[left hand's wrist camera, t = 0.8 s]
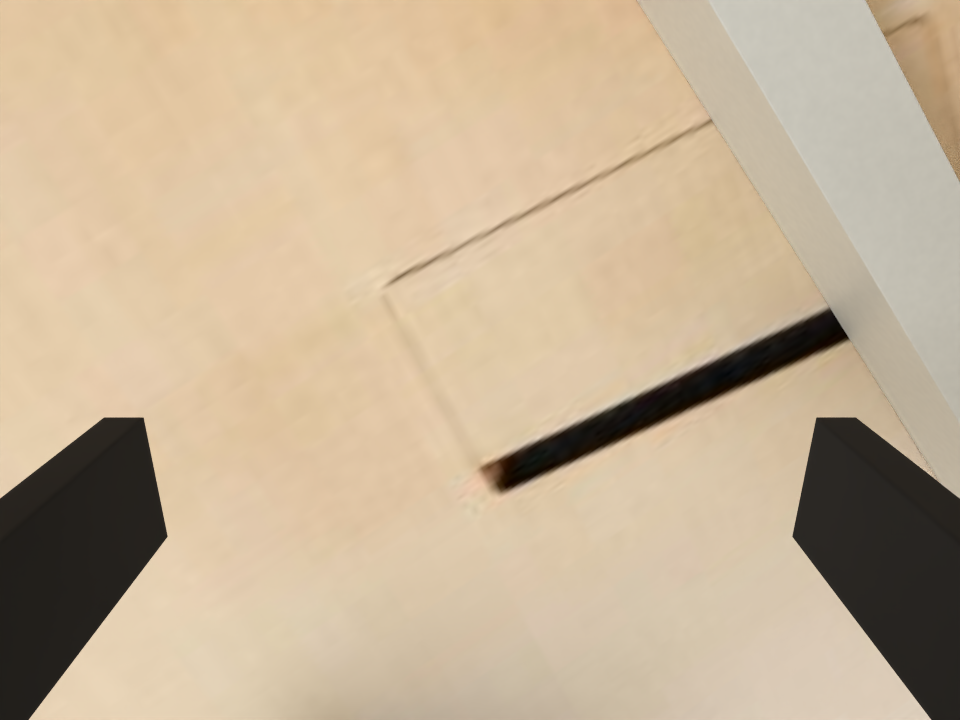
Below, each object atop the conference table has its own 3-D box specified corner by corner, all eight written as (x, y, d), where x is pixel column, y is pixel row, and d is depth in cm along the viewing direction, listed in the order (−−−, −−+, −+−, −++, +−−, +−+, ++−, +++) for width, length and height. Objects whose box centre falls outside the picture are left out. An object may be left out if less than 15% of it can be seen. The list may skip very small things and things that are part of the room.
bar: (1055, 521, 43) (1181, 608, 35) (986, 558, 44) (1094, 650, 36) (117, -1126, 21) (-96, -1860, 13) (25, -971, 22) (-223, -1567, 14)
